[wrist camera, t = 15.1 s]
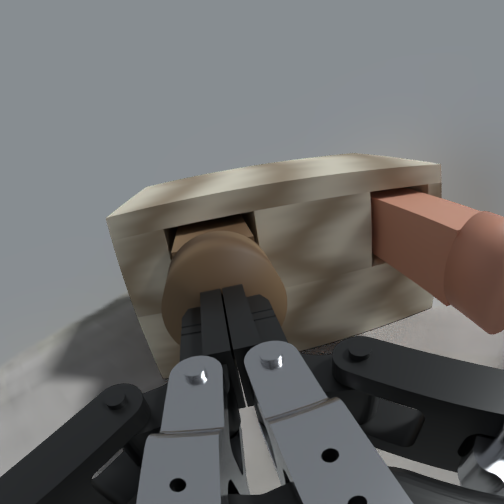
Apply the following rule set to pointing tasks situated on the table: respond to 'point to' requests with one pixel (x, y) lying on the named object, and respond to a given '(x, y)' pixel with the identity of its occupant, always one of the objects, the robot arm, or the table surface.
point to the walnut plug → (217, 268)
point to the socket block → (281, 242)
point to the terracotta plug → (444, 250)
